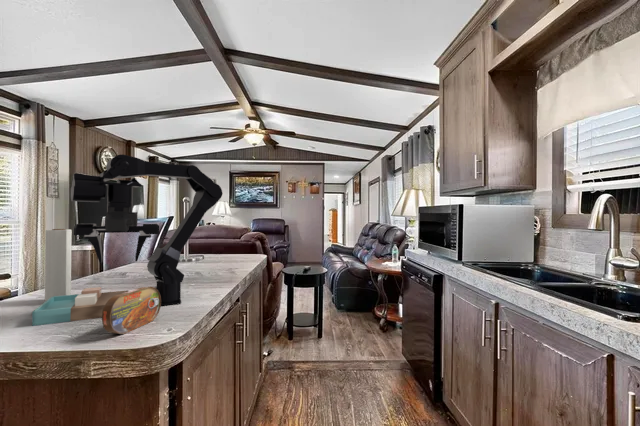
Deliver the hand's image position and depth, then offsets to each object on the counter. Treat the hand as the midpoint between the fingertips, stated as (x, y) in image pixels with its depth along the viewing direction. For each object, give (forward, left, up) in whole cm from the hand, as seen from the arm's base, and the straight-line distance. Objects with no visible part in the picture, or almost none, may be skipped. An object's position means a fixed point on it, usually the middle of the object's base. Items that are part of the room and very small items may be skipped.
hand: (119, 261), depth 84 cm
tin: (-4, +15, -13) cm, 21 cm away
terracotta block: (+7, -8, -10) cm, 15 cm away
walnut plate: (+4, -4, -13) cm, 14 cm away
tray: (+13, -4, -13) cm, 19 cm away
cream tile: (+7, 0, -10) cm, 12 cm away
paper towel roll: (+17, -21, -13) cm, 30 cm away
